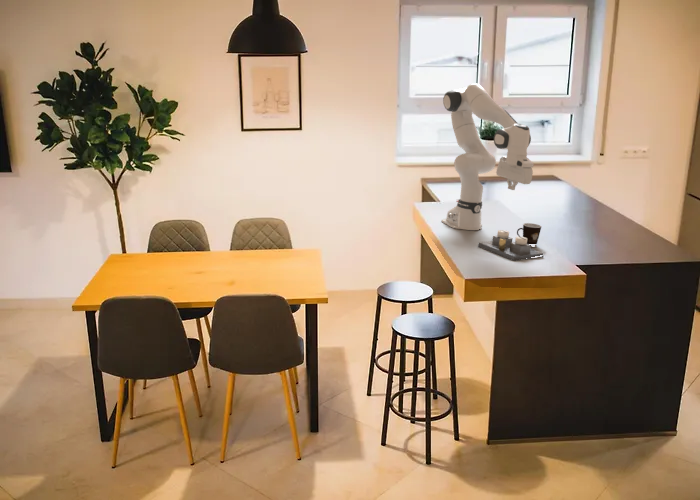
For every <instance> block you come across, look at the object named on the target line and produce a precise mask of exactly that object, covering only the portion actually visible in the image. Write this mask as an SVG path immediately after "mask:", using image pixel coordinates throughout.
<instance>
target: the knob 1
mask: <svg viewBox="0 0 700 500" xmlns="http://www.w3.org/2000/svg"><path fill="white" fill-rule="evenodd" d="M496 234H497V235H496V236H497V237H500V238H508V237H509V236H510V232H509V231H508V230H504V229H500V230H499V229H498V230H497V233H496Z"/></svg>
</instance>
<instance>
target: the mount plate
mask: <svg viewBox="0 0 700 500" xmlns="http://www.w3.org/2000/svg"><path fill="white" fill-rule="evenodd" d="M503 239H506V244H505V249H504V250H503V249H499V242H500V237H497V235H493V236H492V240H491V241H482V242H481V241H480V242H478V244H477V246H478V247H479V248H481V249H484V250H486V251H489V252H491V253H493V254H495V255H499V256H500V257H503V258H505V259H508V260H510V261H512V262H513V261H514V262H516V260H517V261H522V260H521V259H525V260H527V259H526V258H531V257H535V256H540V255H543V256H544V252H541V251H539V250H536V249H535V248H532V247H531V245H529V244H527V245H518V244H516V243H515V241H513V238H512V237H508V238H503Z"/></svg>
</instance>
